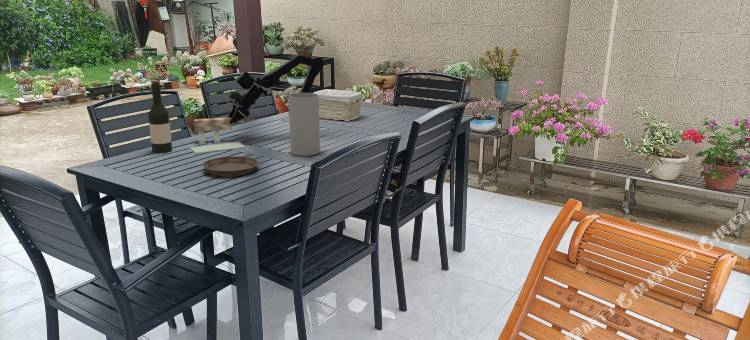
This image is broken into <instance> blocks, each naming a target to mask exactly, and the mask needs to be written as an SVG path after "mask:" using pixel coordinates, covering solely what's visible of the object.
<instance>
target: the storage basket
mask: <svg viewBox="0 0 750 340" xmlns="http://www.w3.org/2000/svg"><path fill="white" fill-rule="evenodd" d="M313 93H315V94H318V95H319V119H321V118H322V120H329V119H335V120H350V119H352V118H355V117H357V116H359V115H360V116H361V107H362V97H363V95H362V92H358V91H350V90H339V89H330V88H329V89H327V88H325V89H321V90H317V91H314V92H313ZM323 118H324V119H323ZM335 120H334V121H335Z"/></svg>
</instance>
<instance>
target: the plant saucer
mask: <svg viewBox="0 0 750 340" xmlns="http://www.w3.org/2000/svg"><path fill="white" fill-rule="evenodd" d="M258 164H259V161H258V160H257V159H256V158H252V157H249V156H248V157H247V156H236V155H235V156H221V157H215V158H212V159H211V158H210V159H208V160H205V161H204V162H203V163H202V167H203V169H204V170H205V171H206V172H208V173H209V174H211V175H213V176H217V177H236V176H237V177H238V176H244V175H247V174H249V173H252V172H253V171H254V170H255V169H256V168H257V166H258ZM243 174H244V175H243Z"/></svg>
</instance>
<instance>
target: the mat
mask: <svg viewBox="0 0 750 340" xmlns="http://www.w3.org/2000/svg"><path fill="white" fill-rule="evenodd" d="M246 147H247V146H245V145H244V144H243V143H242V142H240V141H237V142H235V141H233V142H225V143H215V144H208V145H199V146H191V147H189V149H190V150H191V151H192V152H193V154H195V155H197V154H205V153H214V152H221V151H223V152H224V151H230V150H231V151H233V150H241V149H246Z"/></svg>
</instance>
